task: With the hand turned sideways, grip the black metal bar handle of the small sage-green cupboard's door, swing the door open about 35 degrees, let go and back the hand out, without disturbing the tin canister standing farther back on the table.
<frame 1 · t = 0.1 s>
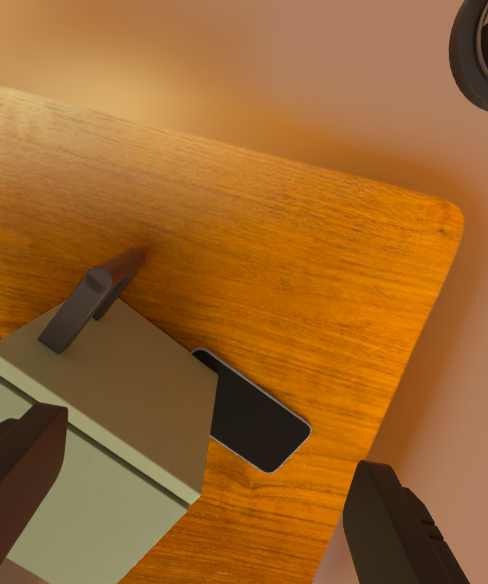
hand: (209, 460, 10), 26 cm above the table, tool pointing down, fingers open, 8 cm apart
cup: (43, 513, 42), on the table
cupboard: (122, 373, 38), on the table
cupboard door: (158, 339, 29), point 8 cm above the table, hinge at 0.0°
smartphone: (236, 408, 40), on the table
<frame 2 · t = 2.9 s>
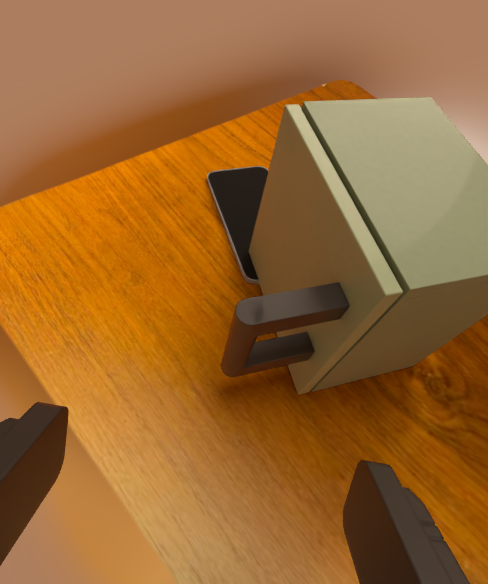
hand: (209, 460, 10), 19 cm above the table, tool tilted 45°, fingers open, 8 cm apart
cupboard: (332, 305, 36), on the table
cupboard door: (257, 272, 27), point 8 cm above the table, hinge at 0.0°
smartphone: (256, 224, 41), on the table
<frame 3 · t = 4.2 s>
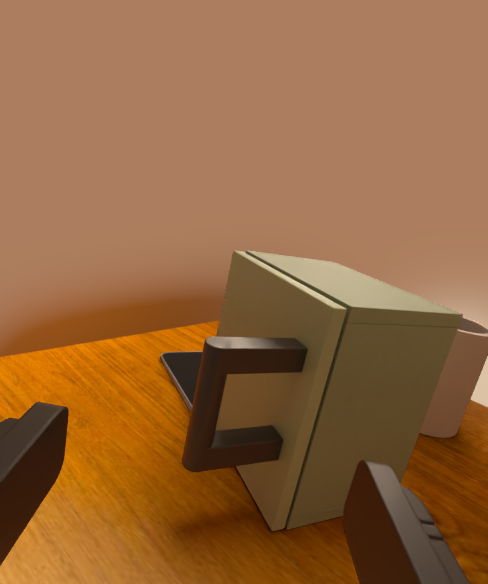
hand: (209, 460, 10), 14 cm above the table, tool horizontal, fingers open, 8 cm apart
cup: (414, 414, 46), on the table
cupboard: (293, 449, 34), on the table
cupboard door: (217, 371, 28), point 8 cm above the table, hinge at 0.0°
smartphone: (208, 390, 42), on the table
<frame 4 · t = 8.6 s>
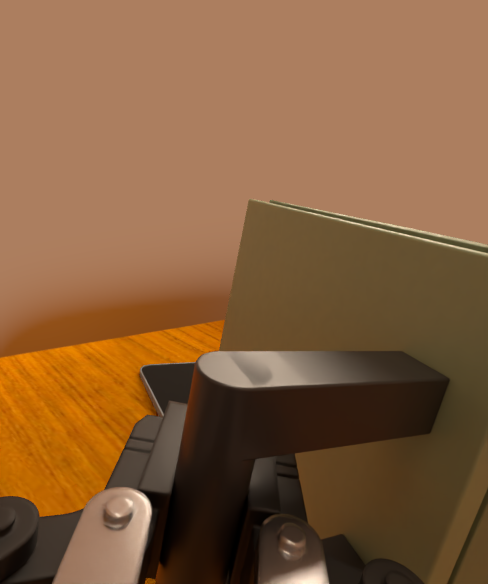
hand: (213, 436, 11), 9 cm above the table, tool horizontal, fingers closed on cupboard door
cupboard: (350, 532, 21), on the table
cupboard door: (225, 413, 15), point 8 cm above the table, hinge at 0.0°, touching gripper
smartphone: (208, 421, 29), on the table
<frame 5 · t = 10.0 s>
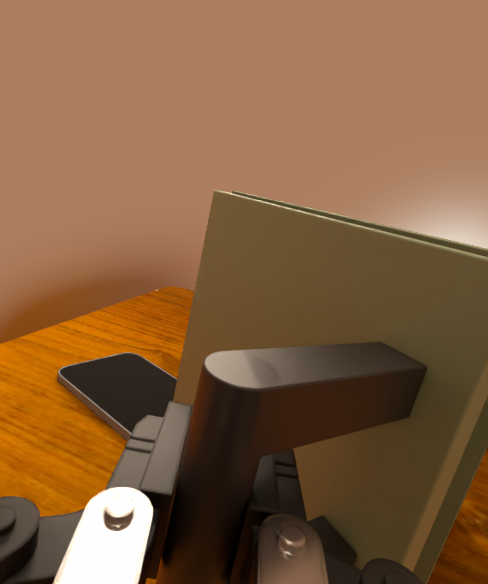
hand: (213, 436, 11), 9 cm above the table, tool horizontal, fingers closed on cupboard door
cupboard: (314, 480, 24), on the table
cupboard door: (203, 408, 15), point 8 cm above the table, hinge at 15.6°, touching gripper
smartphone: (153, 414, 28), on the table
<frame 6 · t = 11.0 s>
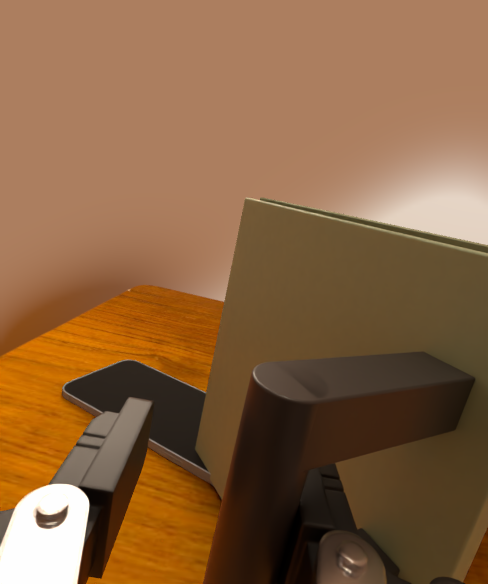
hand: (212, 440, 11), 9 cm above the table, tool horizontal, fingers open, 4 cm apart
cupboard: (338, 466, 26), on the table
cupboard door: (238, 416, 15), point 8 cm above the table, hinge at 28.2°, touching gripper
smartphone: (169, 421, 28), on the table
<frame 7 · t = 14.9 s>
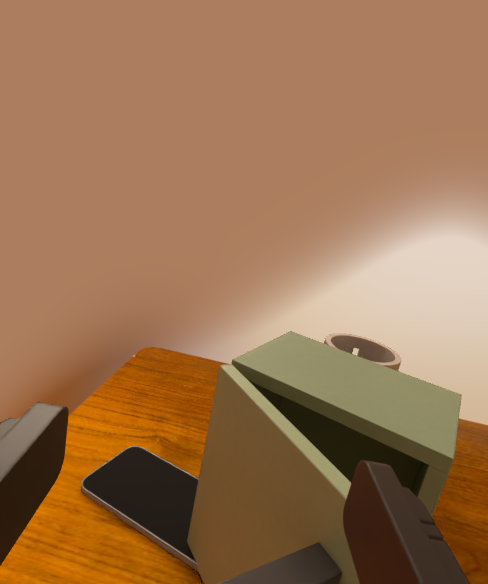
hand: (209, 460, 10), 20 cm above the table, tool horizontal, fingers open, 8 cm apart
cup: (338, 433, 50), on the table
cupboard: (301, 549, 32), on the table
cupboard door: (210, 557, 21), point 8 cm above the table, hinge at 28.2°
smartphone: (168, 508, 34), on the table
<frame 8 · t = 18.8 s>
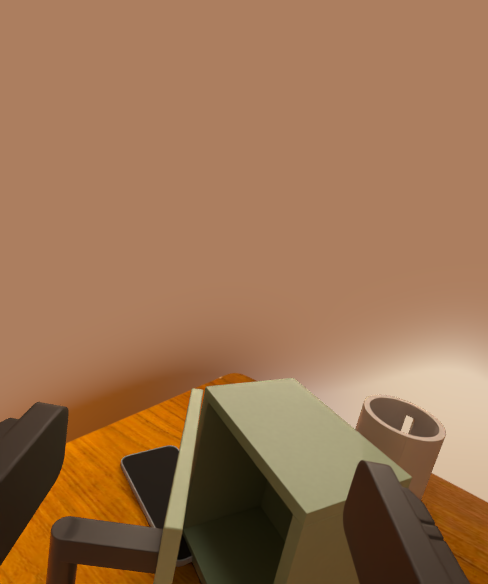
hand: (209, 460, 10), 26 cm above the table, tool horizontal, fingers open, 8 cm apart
cup: (374, 501, 48), on the table
cupboard: (257, 578, 35), on the table
cupboard door: (129, 524, 29), point 8 cm above the table, hinge at 28.2°
smartphone: (172, 500, 42), on the table
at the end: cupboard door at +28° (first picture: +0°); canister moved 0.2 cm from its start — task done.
